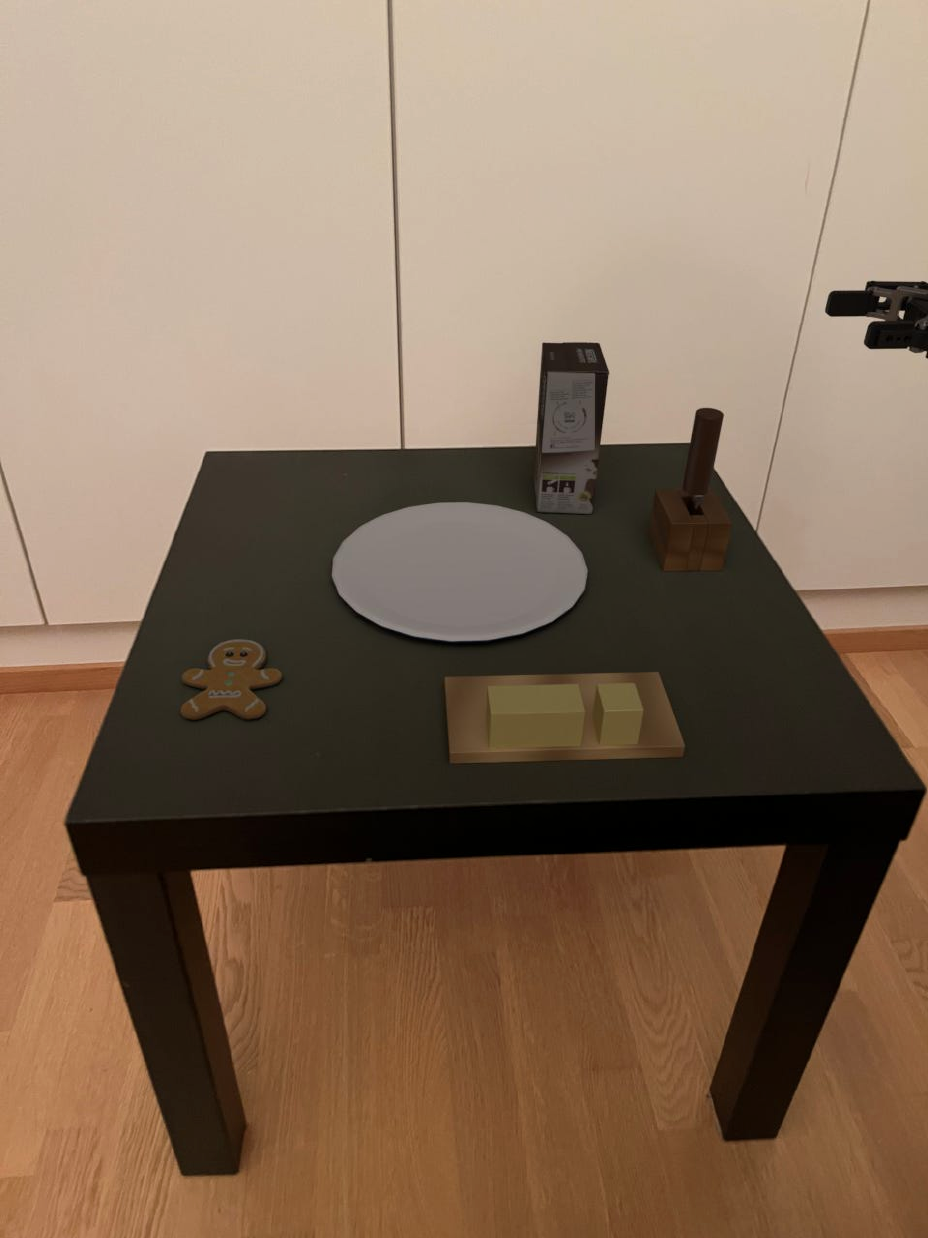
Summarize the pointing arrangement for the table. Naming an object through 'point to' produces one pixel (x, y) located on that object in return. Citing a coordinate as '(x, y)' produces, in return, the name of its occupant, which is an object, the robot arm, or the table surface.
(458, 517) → the plate
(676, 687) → the table surface
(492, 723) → the butter
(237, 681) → the cookie
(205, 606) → the table surface
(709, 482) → the knife
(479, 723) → the cutting board
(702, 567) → the knife block
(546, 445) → the coffee box
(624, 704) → the butter slice
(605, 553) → the table surface
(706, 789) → the table surface
